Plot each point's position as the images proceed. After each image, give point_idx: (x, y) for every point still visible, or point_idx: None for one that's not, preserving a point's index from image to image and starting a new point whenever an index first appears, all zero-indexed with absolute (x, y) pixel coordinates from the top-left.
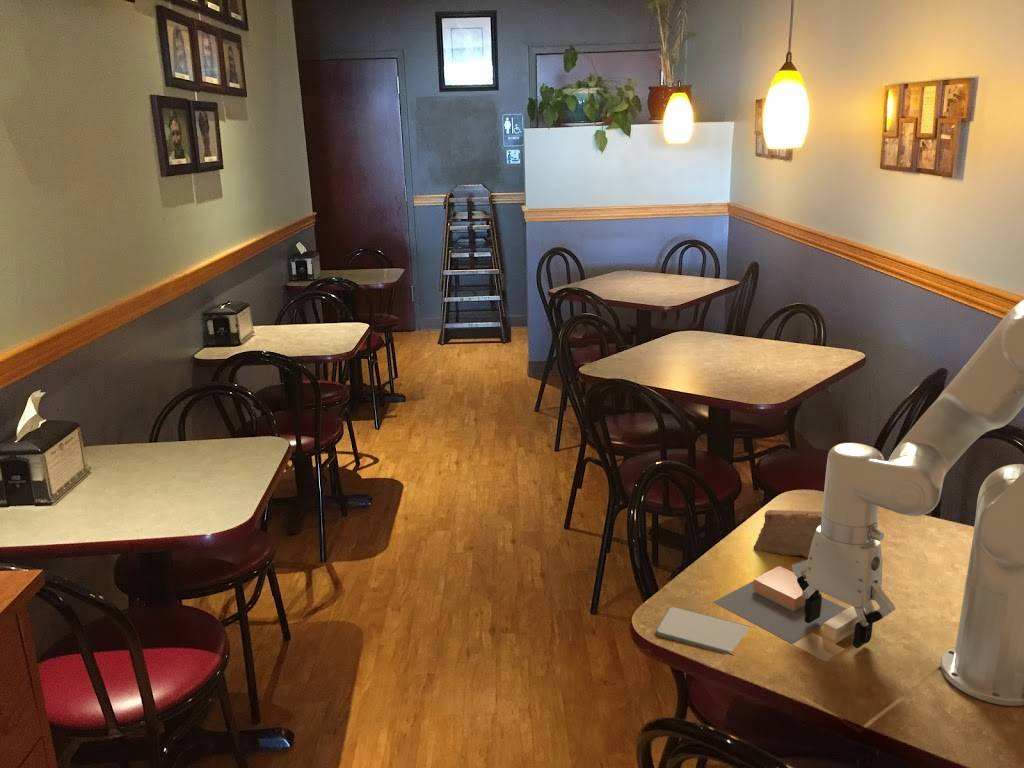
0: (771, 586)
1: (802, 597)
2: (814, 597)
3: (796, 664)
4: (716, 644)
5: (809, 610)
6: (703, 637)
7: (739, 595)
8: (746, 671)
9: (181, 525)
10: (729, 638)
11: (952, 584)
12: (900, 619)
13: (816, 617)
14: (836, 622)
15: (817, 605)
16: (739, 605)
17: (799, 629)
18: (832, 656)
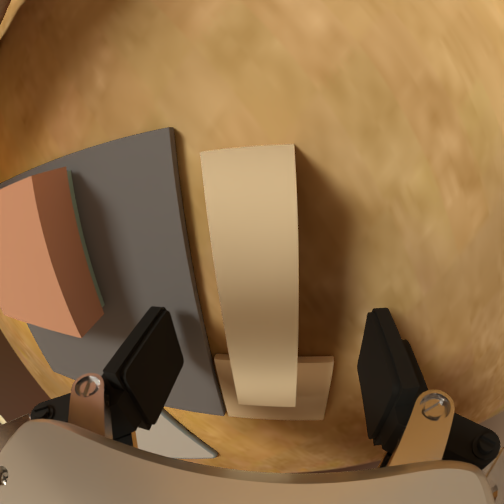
0: (25, 318)
1: (71, 291)
2: (135, 416)
3: (279, 438)
4: (164, 453)
5: (164, 399)
6: (143, 448)
7: (36, 326)
8: (239, 468)
9: (4, 421)
10: (157, 440)
11: None
12: (346, 4)
13: (171, 330)
14: (266, 381)
15: (150, 369)
16: (65, 358)
17: (184, 369)
18: (324, 401)
